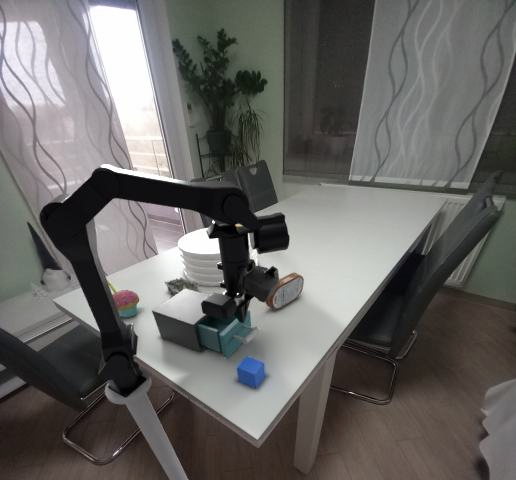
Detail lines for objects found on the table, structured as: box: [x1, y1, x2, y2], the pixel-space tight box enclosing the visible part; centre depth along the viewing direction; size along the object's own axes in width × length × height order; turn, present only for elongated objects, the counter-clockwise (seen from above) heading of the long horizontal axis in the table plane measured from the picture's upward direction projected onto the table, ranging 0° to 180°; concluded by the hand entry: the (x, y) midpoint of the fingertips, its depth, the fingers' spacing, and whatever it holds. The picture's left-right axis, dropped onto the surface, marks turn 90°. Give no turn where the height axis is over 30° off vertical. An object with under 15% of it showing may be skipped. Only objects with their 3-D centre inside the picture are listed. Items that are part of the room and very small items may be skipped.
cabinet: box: [151, 289, 211, 353], centre depth 72 cm, size 14×13×9 cm
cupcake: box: [107, 279, 140, 318], centre depth 80 cm, size 9×8×12 cm
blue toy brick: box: [236, 355, 266, 389], centre depth 59 cm, size 4×4×4 cm
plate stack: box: [177, 227, 259, 287], centre depth 102 cm, size 28×28×12 cm
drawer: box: [196, 309, 260, 359], centre depth 68 cm, size 17×11×7 cm
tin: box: [265, 272, 305, 310], centre depth 81 cm, size 15×3×8 cm, turn 135°
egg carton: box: [164, 277, 199, 296], centre depth 91 cm, size 11×8×4 cm
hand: (242, 322), depth 63 cm, fingers closed
